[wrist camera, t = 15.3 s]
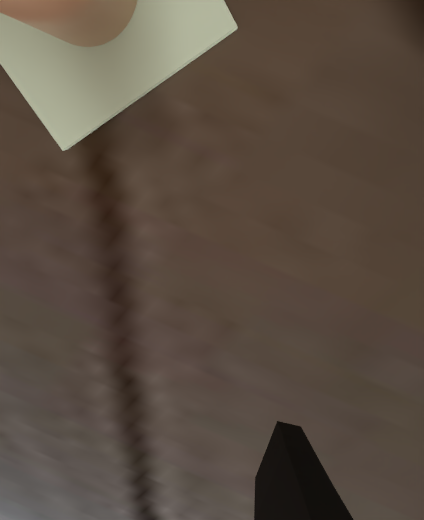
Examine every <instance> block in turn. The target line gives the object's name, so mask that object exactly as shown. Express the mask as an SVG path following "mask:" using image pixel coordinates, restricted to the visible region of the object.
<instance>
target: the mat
mask: <svg viewBox="0 0 424 520" xmlns="http://www.w3.org/2000/svg"><path fill="white" fill-rule="evenodd" d="M235 30H237V25H236V23H235V21H234V19H233V17H232V15H231V13H230V11H229V9H228V7H227V6H226V4H225V2H224V0H137V4H136V8H135V11H134V13H133V16H132V18H131V20H130V22H129V23H128V25H127V26H126V27H125V29H124V30H123V31H122V32H121V33H120V34H119V35H118V36H117V37H115V38H114V39H113V40H111V41H109V42H107V43H105V44H102V45H99V46H93V47H82V46H76V45H73V44H70V43H68V42H65V41H63V40H61V39H59V38H56V37H54V36H52V35H50V34H47V33H45V32H43V31H41V30H38V29H36V28H34V27H32V26H30V25H27V24H25V23H23V22H21V21H18V20H16V19H14V18H12V17H9V16H7V15H5V14H3V13H0V64H1V65H2V67H3V68H4V70H5V71H6V72H7V74H8V75H9V77H10V78H11V79H12V81H13V82H14V83H15V85H16V86H17V88H18V89H19V90H20V92H21V93H22V95H23V96H24V97H25V99H26V100H27V102H28V103H29V104H30V106H31V107H32V109H33V110H34V111H35V113H36V114H37V116H38V117H39V118H40V120H41V121H42V123H43V124H44V125H45V127H46V128H47V129H48V131H49V132H50V134H51V135H52V136H53V138H54V139H55V141H56V142H57V143H58V145H59V146H60V148H61V149H62V150H63V151H64V150H67V149H69V148H70V147H72V146H73V145H74V144H76V143H77V142H79V141H80V140H81V139H83V138H84V137H86V136H87V135H89V134H90V133H91V132H93V131H94V130H96V129H97V128H98V127H100V126H101V125H103V124H104V123H105V122H107V121H108V120H110V119H111V118H113V117H114V116H115V115H117V114H118V113H120V112H121V111H122V110H124V109H125V108H127V107H128V106H130V105H131V104H132V103H134V102H135V101H137V100H138V99H139V98H141V97H142V96H144V95H145V94H146V93H148V92H149V91H151V90H152V89H154V88H155V87H156V86H158V85H159V84H161V83H162V82H163V81H165V80H166V79H168V78H169V77H170V76H172V75H173V74H175V73H176V72H178V71H179V70H180V69H182V68H183V67H185V66H186V65H187V64H189V63H190V62H192V61H193V60H194V59H196V58H197V57H199V56H200V55H202V54H203V53H204V52H206V51H207V50H209V49H210V48H211V47H213V46H214V45H216V44H217V43H218V42H220V41H221V40H223V39H224V38H226V37H227V36H228V35H230V34H231V33H233V32H234V31H235Z"/></svg>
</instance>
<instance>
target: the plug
mask: <svg viewBox="0 0 424 520" xmlns="http://www.w3.org/2000/svg"><path fill="white" fill-rule="evenodd" d="M136 4H137V0H0V13H3V14H5V15H7V16H9V17H12V18H14V19H16V20H18V21H21V22H23V23H25V24H27V25H30V26H32V27H34V28H36V29H38V30H41V31H43V32H45V33H47V34H50V35H52V36H54V37H56V38H59V39H61V40H63V41H65V42H68V43H70V44H73V45H76V46H82V47H93V46H99V45H102V44H105V43H107V42H109V41H111V40H113V39H114V38H115V37H117V36H118V35H119V34H120V33H121V32H122V31H123V30H124V29H125V27H126V26H127V25H128V23H129V22H130V20H131V18H132V16H133V13H134V11H135V8H136Z"/></svg>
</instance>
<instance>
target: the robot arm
mask: <svg viewBox="0 0 424 520" xmlns="http://www.w3.org/2000/svg"><path fill="white" fill-rule="evenodd" d="M254 520H353V518H352V516H351V515H350V513H349V511H348V510H347V508H346V506H345V505H344V503H343V501H342V500H341V498H340V496H339V495H338V493H337V491H336V489H335V488H334V486H333V484H332V482H331V481H330V479H329V477H328V475H327V473H326V472H325V470H324V468H323V466H322V464H321V463H320V461H319V459H318V457H317V455H316V453H315V452H314V450H313V448H312V446H311V444H310V442H309V441H308V439H307V437H306V435H305V433H304V432H303V430H302V428H301V427H300V426H296V425H292V424H287V423H283V422H279V421H277V424H276V426H275V429H274V431H273V434H272V436H271V439H270V442H269V444H268V447H267V449H266V452H265V454H264V457H263V460H262V462H261V465H260V467H259V470H258V472H257V475H256V477H255V514H254Z"/></svg>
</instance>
